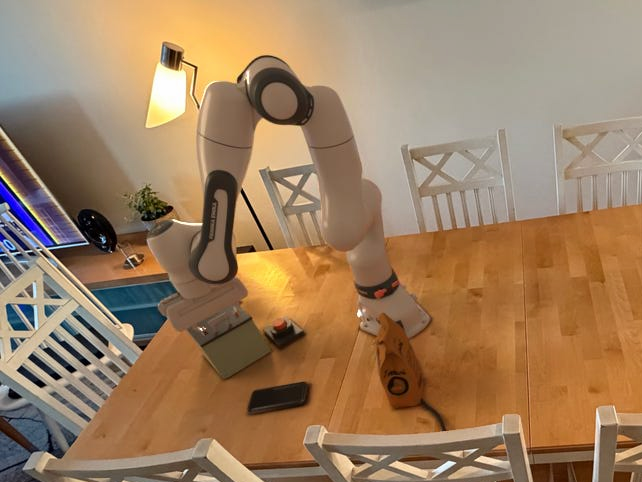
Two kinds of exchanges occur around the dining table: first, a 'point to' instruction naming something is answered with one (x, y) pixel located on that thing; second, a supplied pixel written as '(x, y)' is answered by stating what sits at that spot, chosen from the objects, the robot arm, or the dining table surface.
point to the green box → (235, 349)
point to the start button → (279, 324)
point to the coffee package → (397, 365)
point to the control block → (284, 333)
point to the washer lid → (219, 325)
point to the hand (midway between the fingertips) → (221, 325)
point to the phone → (278, 397)
